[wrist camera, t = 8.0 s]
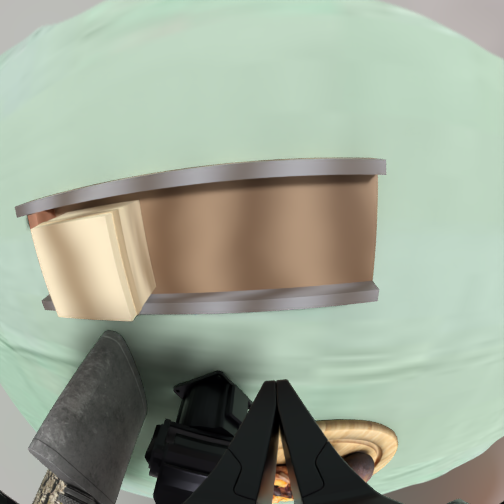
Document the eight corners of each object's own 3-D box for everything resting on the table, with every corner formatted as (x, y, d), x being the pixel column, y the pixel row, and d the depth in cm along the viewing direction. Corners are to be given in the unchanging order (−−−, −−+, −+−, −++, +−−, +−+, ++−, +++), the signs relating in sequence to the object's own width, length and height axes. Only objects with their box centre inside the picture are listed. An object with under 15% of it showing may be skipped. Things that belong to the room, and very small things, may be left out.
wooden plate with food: (199, 486, 40) (195, 518, 32) (206, 406, 28) (197, 465, 21) (347, 487, 41) (352, 516, 34) (430, 405, 30) (450, 446, 22)
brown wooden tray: (371, 157, 18) (392, 160, 15) (366, 285, 22) (382, 307, 19) (33, 200, 20) (7, 209, 17) (59, 297, 24) (39, 314, 20)
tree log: (108, 438, 34) (66, 551, 10) (101, 447, 36) (63, 547, 12) (74, 416, 32) (21, 526, 9) (70, 427, 35) (24, 525, 11)
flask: (130, 333, 25) (46, 487, 8) (154, 417, 30) (118, 533, 13) (100, 328, 25) (9, 463, 8) (129, 411, 30) (87, 520, 13)
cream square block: (139, 198, 19) (105, 215, 14) (157, 287, 21) (133, 321, 17) (68, 211, 19) (30, 228, 15) (88, 288, 22) (58, 317, 17)
